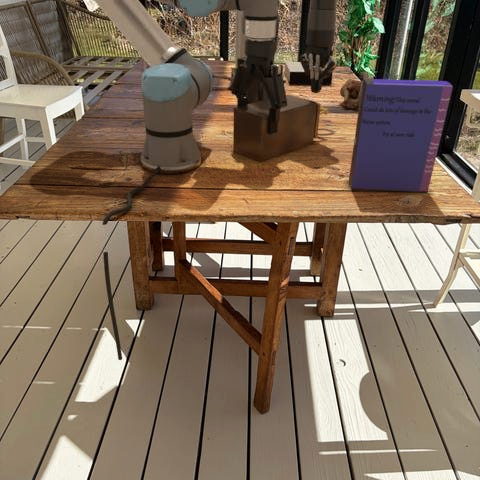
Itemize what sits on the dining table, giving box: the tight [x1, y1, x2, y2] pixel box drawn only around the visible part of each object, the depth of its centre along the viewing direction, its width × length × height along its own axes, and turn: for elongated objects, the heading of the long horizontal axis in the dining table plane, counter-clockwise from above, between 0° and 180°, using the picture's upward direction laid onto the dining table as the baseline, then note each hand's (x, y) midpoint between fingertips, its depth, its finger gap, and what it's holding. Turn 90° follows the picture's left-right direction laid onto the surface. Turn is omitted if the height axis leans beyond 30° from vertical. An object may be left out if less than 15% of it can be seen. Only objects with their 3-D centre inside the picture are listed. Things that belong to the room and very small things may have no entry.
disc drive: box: [284, 61, 334, 85], centre depth 207 cm, size 18×22×5 cm
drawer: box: [313, 102, 330, 140], centre depth 135 cm, size 26×9×10 cm, turn 133°
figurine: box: [211, 66, 287, 89], centre depth 190 cm, size 24×8×30 cm
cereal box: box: [348, 78, 454, 193], centre depth 106 cm, size 17×5×24 cm, turn 86°
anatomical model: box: [339, 71, 369, 110], centre depth 171 cm, size 13×9×15 cm
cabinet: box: [232, 94, 318, 162], centre depth 131 cm, size 22×11×12 cm, turn 133°
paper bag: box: [234, 10, 247, 68], centre depth 210 cm, size 19×15×28 cm
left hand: (257, 127), depth 127 cm, fingers closed on cabinet, 11 cm apart
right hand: (315, 92), depth 137 cm, fingers closed
